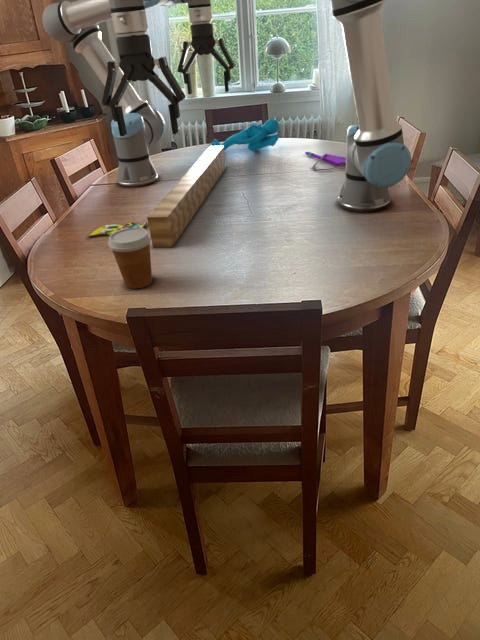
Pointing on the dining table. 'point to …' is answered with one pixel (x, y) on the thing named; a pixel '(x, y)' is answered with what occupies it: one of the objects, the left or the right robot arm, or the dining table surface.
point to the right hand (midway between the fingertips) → (149, 134)
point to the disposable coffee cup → (132, 255)
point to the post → (185, 198)
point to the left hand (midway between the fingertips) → (208, 92)
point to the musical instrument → (328, 159)
